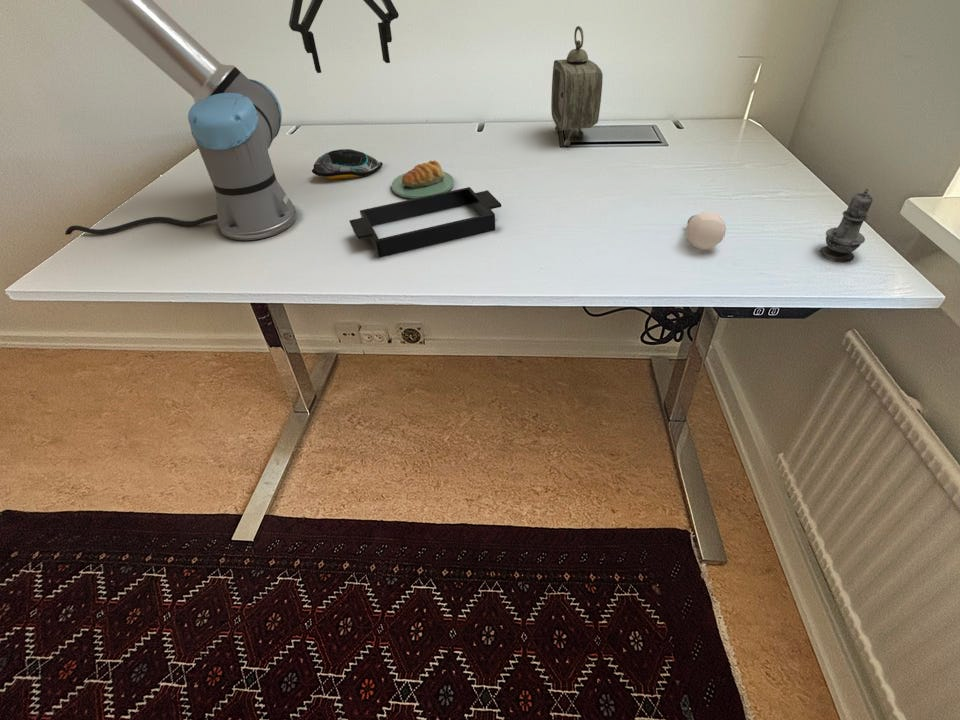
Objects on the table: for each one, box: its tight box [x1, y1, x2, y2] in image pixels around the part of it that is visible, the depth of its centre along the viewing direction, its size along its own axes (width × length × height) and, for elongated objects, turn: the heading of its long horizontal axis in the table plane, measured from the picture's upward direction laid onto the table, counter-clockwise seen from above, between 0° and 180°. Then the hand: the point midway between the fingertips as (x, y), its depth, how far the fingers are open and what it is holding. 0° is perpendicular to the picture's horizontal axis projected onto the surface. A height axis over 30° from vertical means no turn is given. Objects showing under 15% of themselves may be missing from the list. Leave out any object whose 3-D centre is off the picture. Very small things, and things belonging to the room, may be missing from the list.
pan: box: [349, 186, 502, 259], centre depth 105 cm, size 29×13×4 cm, turn 112°
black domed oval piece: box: [311, 148, 384, 180], centre depth 126 cm, size 9×17×6 cm, turn 116°
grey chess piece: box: [819, 188, 874, 263], centre depth 90 cm, size 6×6×12 cm
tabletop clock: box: [550, 25, 604, 147], centre depth 131 cm, size 14×9×25 cm, turn 6°
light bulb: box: [685, 211, 727, 250], centre depth 97 cm, size 7×7×11 cm
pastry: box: [402, 160, 445, 188], centre depth 119 cm, size 9×7×4 cm
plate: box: [391, 171, 455, 199], centre depth 121 cm, size 14×14×1 cm
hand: (353, 66), depth 105 cm, fingers open, 13 cm apart
